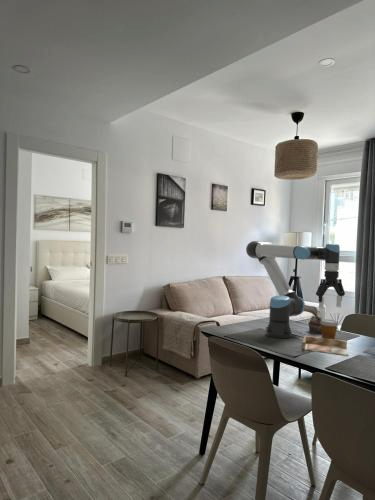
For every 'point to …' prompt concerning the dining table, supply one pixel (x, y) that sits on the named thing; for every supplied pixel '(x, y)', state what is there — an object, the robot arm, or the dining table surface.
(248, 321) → the dining table surface
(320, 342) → the brown beige flat box
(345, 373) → the dining table surface
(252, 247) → the robot arm
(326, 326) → the cup of beer
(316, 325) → the cupcake
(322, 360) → the dining table surface
